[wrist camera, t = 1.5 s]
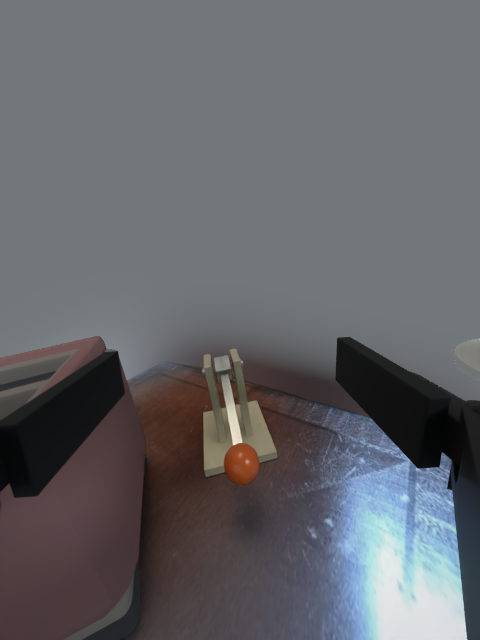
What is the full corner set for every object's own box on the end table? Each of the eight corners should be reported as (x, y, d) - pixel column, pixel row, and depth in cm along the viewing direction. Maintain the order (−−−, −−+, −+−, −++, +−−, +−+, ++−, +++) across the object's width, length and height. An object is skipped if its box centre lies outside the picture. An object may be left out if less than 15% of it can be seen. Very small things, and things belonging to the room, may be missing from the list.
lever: (264, 485, 23) (263, 470, 21) (229, 495, 23) (224, 480, 21) (234, 367, 36) (232, 350, 34) (211, 372, 36) (207, 355, 34)
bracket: (277, 458, 32) (265, 369, 28) (205, 477, 31) (182, 387, 27) (257, 405, 43) (247, 337, 40) (204, 418, 42) (188, 349, 38)
